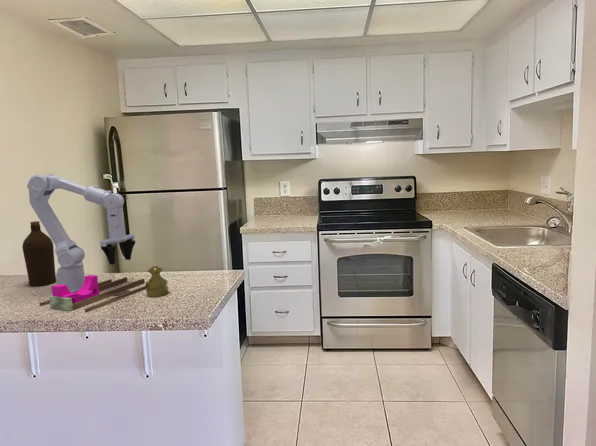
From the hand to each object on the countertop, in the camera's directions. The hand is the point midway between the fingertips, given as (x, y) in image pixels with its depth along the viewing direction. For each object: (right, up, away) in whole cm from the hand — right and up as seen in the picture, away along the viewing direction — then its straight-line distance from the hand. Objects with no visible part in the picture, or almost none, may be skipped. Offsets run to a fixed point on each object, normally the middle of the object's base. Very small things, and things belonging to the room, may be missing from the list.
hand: (120, 261), depth 170 cm
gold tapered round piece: (+18, -11, -11) cm, 23 cm away
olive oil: (-36, -10, +12) cm, 39 cm away
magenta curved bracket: (-7, -13, -16) cm, 22 cm away
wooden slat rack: (-3, -11, -9) cm, 15 cm away
